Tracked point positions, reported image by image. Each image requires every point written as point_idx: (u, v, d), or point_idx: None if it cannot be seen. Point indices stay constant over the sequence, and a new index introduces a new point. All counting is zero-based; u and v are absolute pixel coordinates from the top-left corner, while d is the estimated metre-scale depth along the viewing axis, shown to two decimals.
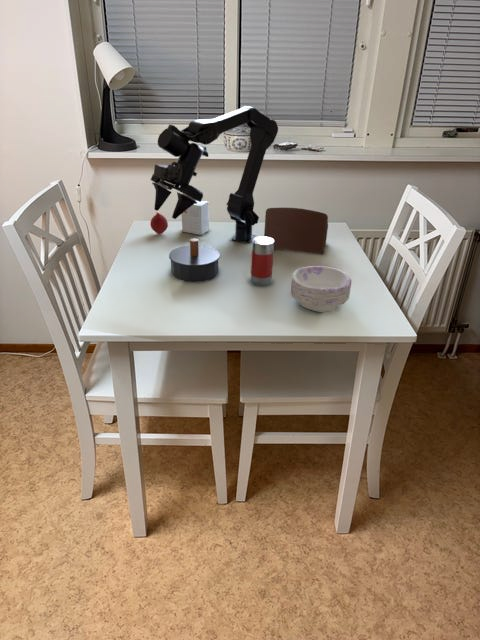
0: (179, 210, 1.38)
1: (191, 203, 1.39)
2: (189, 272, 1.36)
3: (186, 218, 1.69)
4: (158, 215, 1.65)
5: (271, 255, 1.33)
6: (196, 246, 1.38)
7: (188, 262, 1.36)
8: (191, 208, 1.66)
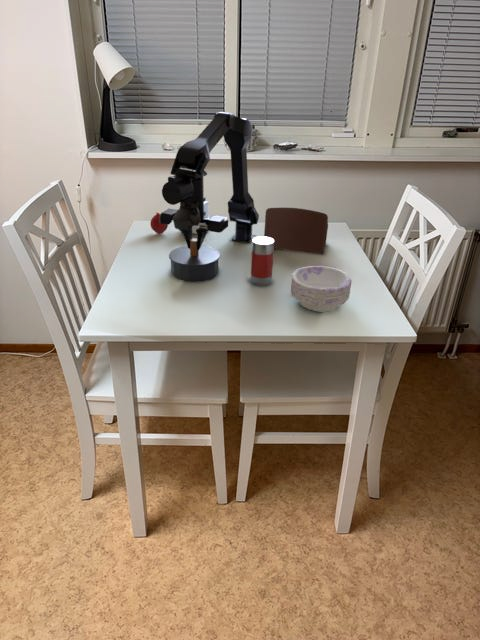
0: (201, 241, 1.38)
1: None
2: (189, 272, 1.36)
3: None
4: (158, 215, 1.65)
5: (271, 255, 1.33)
6: (196, 246, 1.38)
7: (188, 262, 1.36)
8: None
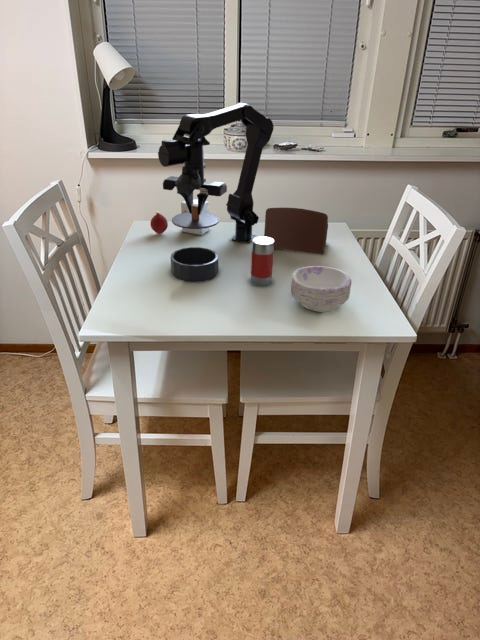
0: (202, 206, 1.48)
1: None
2: (189, 272, 1.36)
3: None
4: (158, 215, 1.65)
5: (271, 255, 1.33)
6: (197, 211, 1.49)
7: (190, 225, 1.46)
8: None
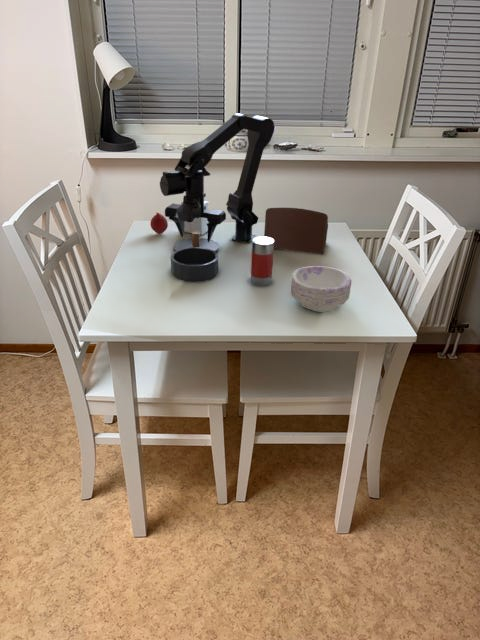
0: (211, 234, 1.54)
1: None
2: (189, 272, 1.36)
3: None
4: (158, 215, 1.65)
5: (271, 255, 1.33)
6: (197, 238, 1.56)
7: None
8: None
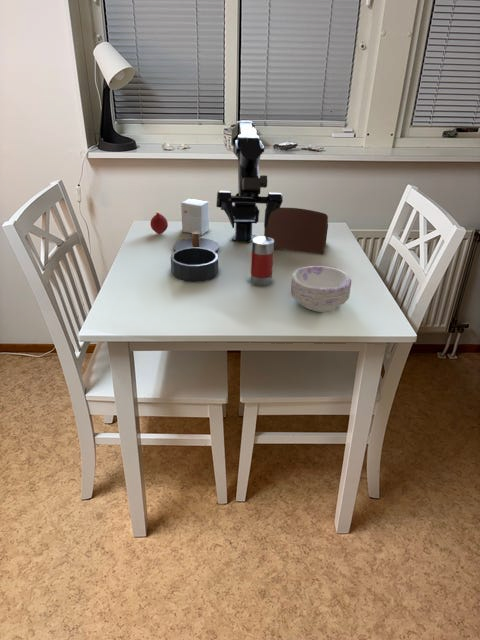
0: None
1: None
2: (189, 272, 1.36)
3: (186, 218, 1.69)
4: (158, 215, 1.65)
5: (271, 255, 1.33)
6: (197, 238, 1.56)
7: None
8: (191, 208, 1.66)
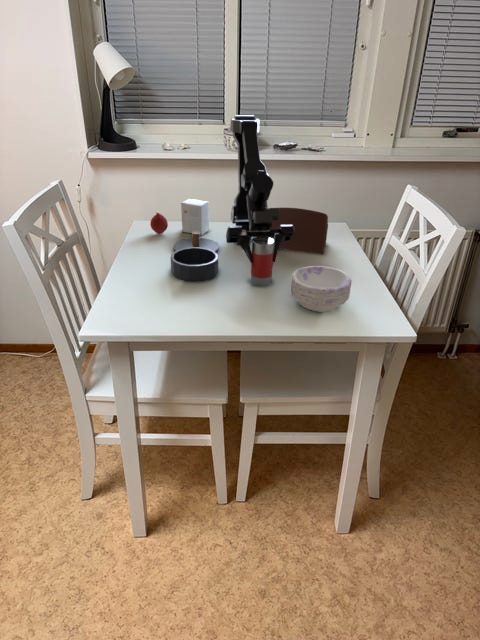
0: None
1: None
2: (189, 272, 1.36)
3: (186, 218, 1.69)
4: (158, 215, 1.65)
5: (271, 255, 1.33)
6: (197, 238, 1.56)
7: None
8: (191, 208, 1.66)
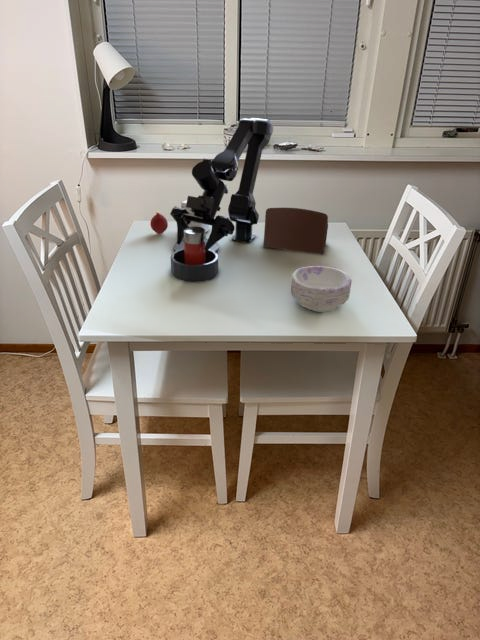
0: (212, 242, 1.37)
1: (221, 236, 1.39)
2: (189, 272, 1.36)
3: None
4: (158, 215, 1.65)
5: (196, 245, 1.36)
6: None
7: None
8: None
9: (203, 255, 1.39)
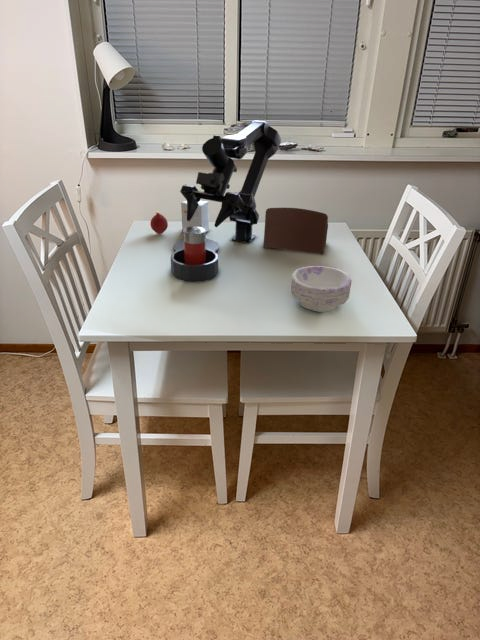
0: (221, 219, 1.38)
1: (231, 212, 1.40)
2: (189, 272, 1.36)
3: (186, 218, 1.69)
4: (158, 215, 1.65)
5: (196, 245, 1.36)
6: None
7: None
8: None
9: (203, 255, 1.39)
